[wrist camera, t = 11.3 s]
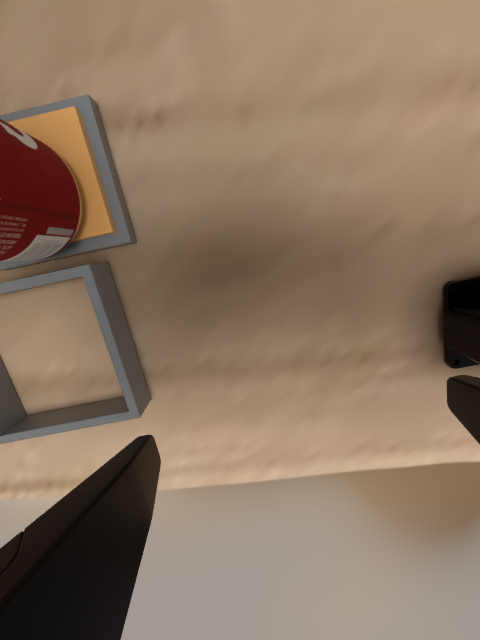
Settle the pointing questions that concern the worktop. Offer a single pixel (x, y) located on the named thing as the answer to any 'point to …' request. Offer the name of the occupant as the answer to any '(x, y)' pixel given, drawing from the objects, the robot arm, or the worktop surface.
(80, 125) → the lid
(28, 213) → the soda can
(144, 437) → the robot arm
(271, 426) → the worktop surface
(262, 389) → the worktop surface
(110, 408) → the case
